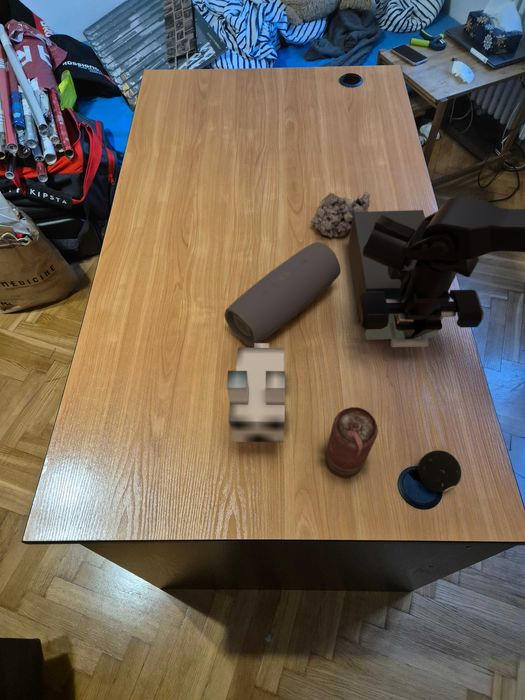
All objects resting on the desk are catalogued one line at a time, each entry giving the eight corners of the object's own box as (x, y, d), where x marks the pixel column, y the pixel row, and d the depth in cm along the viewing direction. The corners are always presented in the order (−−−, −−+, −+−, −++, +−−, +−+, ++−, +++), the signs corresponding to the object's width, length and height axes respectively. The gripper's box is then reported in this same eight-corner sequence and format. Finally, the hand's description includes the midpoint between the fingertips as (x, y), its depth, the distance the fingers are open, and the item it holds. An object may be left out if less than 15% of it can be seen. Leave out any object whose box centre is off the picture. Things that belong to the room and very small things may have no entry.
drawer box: (429, 319, 90) (444, 286, 81) (358, 320, 90) (366, 288, 82) (411, 245, 100) (423, 209, 92) (347, 246, 100) (353, 211, 92)
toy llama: (283, 365, 85) (284, 296, 68) (283, 459, 76) (284, 405, 59) (242, 365, 85) (233, 296, 68) (237, 458, 76) (225, 405, 59)
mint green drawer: (438, 360, 84) (452, 335, 77) (369, 361, 84) (376, 337, 77) (414, 263, 96) (424, 235, 89) (354, 265, 96) (359, 237, 90)
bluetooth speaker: (305, 266, 98) (308, 230, 89) (339, 290, 94) (345, 255, 85) (224, 330, 90) (219, 297, 81) (258, 359, 86) (256, 328, 77)
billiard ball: (426, 501, 71) (437, 490, 66) (407, 465, 74) (416, 452, 69) (461, 488, 72) (474, 476, 67) (440, 453, 75) (452, 439, 70)
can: (333, 484, 73) (343, 453, 61) (319, 447, 76) (327, 410, 65) (369, 474, 74) (387, 441, 62) (354, 437, 77) (368, 399, 65)
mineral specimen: (373, 196, 103) (358, 174, 95) (377, 235, 101) (362, 216, 93) (322, 212, 109) (303, 193, 101) (325, 249, 107) (306, 233, 99)
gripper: (481, 237, 73) (450, 300, 86) (361, 240, 73) (348, 302, 86) (501, 293, 67) (464, 352, 80) (370, 296, 67) (355, 354, 80)
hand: (406, 338), depth 82 cm, fingers closed, pressing on mint green drawer
